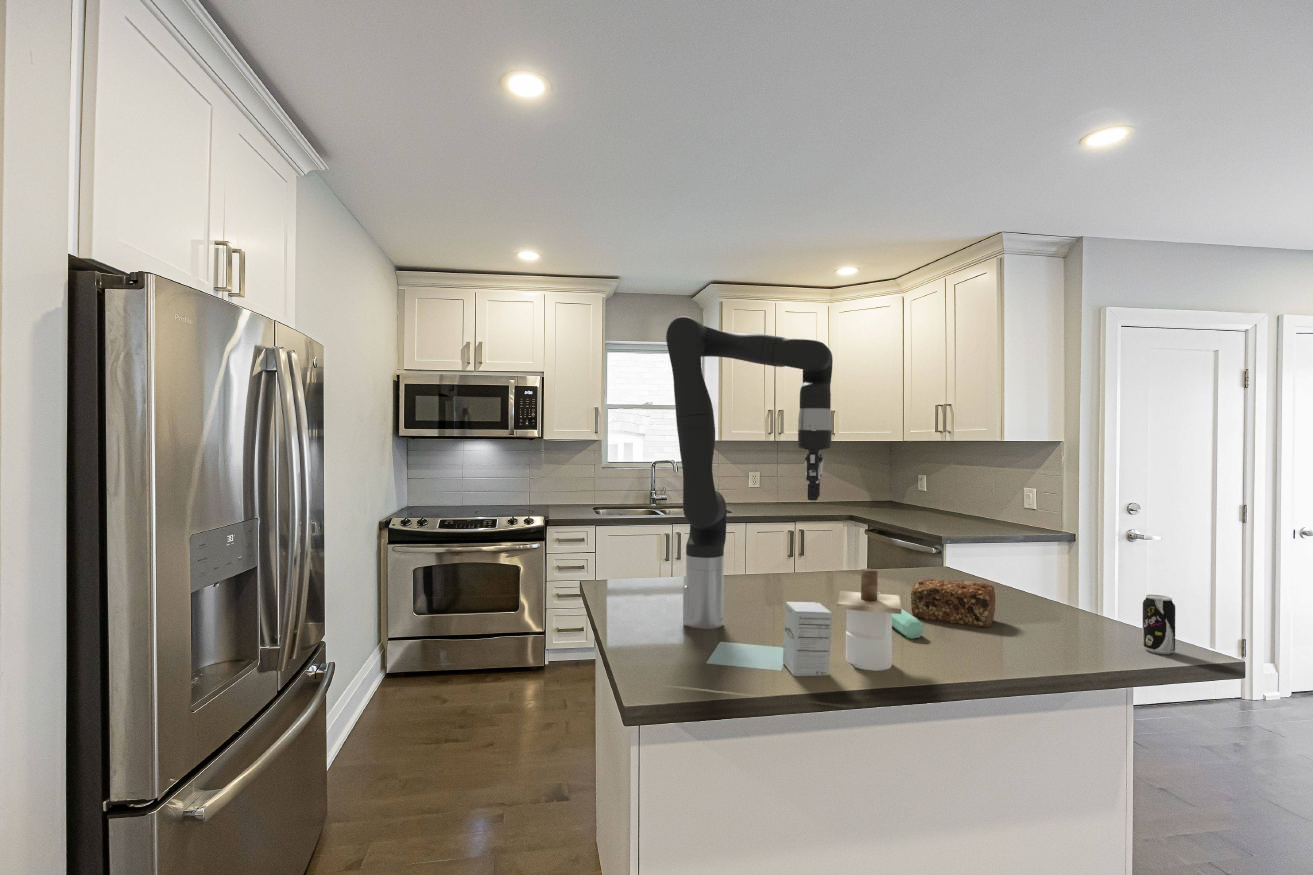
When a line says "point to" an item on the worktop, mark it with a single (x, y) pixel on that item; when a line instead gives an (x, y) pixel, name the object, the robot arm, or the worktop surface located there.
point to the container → (907, 624)
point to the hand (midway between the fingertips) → (813, 498)
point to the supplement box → (807, 638)
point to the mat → (748, 656)
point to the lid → (869, 596)
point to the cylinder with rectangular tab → (869, 639)
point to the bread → (954, 602)
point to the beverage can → (1158, 624)
